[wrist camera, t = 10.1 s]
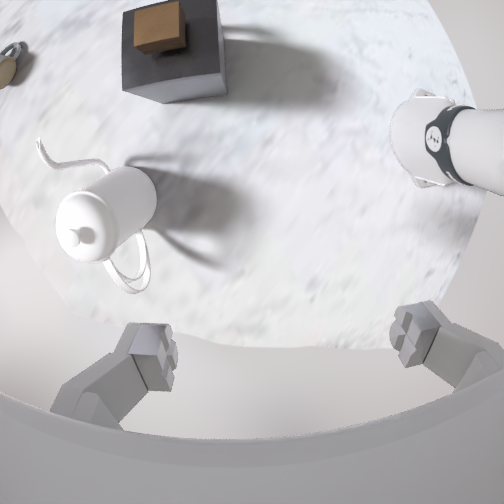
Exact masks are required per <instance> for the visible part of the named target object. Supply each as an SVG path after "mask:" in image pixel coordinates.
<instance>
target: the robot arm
mask: <svg viewBox="0 0 504 504" xmlns="http://www.w3.org/2000/svg"><path fill="white" fill-rule="evenodd" d="M390 138H391V144H392V148H393V151H394V154H395V156H396V158H397V160H398V161H399V163H400V164H401V165H402V166H403V167H404V168H405V169H406V170H407V171H408V172H409V173H410V175H411V177H412V179H413V181H414V183H415V185H416V186H417V187H420V188H423V187H428V186H433V185H437V184H438V185H442V186H445V185H446V184H450V183H454V182H457V183H460V184H463V185H464V184H465V185H469V186H473V185H475V186H478V187H481V188H483V189H486V190H488V191H490V192H493V193H495V194H498V195H500V196H504V109H497V110H478V109H475V108H473V107H469V106H465V105H464V104H461V103H455V101H454V100H452V99H448V100H447V98H446V97H437V96H435V95H434V94H432V93H430V92H428V91H426V90H424V89H416V90H415V91H414V92H413V94H412V96H411V98H410V99H409V100H408V101H406V102H404V103H403V104H402V105H401V106H400V107H399V108H398V109H397V110H396V112H395V114H394V116H393V119H392V122H391V128H390ZM394 316H395V318H396V320H395V321H394V322H393V324H392V325H391V328H390V341H391V344H392V346H393V348H394V349H396V350H398V351H399V355H398V356H399V358H400V360H401V361H402V363H403V365H404V366H405V368H408V367H411V366H416V365H420V364H423V365H424V366H425V367H427V368H428V369H430V370H431V371H432V372H434V373H435V374H436V375H438V376H439V377H441V378H442V379H443V380H445V381H446V382H447V383H449V384H450V385H451V386H453V387H454V388H455V390H454V391H453V393H452V394H450V395H448V396H445V397H443V398H440V399H437V400H435V401H433V402H430V403H427V404H425V405H422V406H419V407H416V408H413V409H410V410H407V411H404V412H401V413H398V414H394V415H391V416H388V417H384V418H381V419H377V420H373V421H369V422H366V423H361V424H357V425H353V426H348V427H343V428H338V429H333V430H327V431H322V432H315V433H308V434H300V435H293V436H283V437H271V438H256V439H194V438H179V437H167V436H158V435H150V434H142V433H135V432H130V431H124V430H123V428H122V427H121V426H120V425H119V422H120V421H121V420H122V419H123V418H124V417H125V416H126V415H127V414H128V413H129V412H130V411H131V410H132V408H133V407H134V406H135V405H136V404H137V403H138V402H139V401H140V400H141V399H142V398H143V397H144V396H145V395H146V394H147V393H148V391H169V392H171V390H172V385H173V381H174V375H173V372H172V371H173V370H174V369H175V368H176V367H177V362H178V352H177V346H176V342H174V341H173V340H172V339H171V338H172V334H173V332H172V329H171V326H170V325H169V324H156V323H129V324H127V326H126V328H125V330H124V332H123V334H122V336H121V338H120V340H119V342H118V344H117V346H116V348H115V350H114V353H109V354H107V355H106V356H104V357H103V358H101V359H100V360H98V361H97V362H95V363H94V364H93V365H91V366H90V367H88V368H87V369H85V370H84V371H82V372H81V373H79V374H78V375H77V376H75V377H74V378H72V379H71V380H69V381H68V382H66V383H65V384H63V385H62V387H61V389H60V391H59V393H58V394H57V397H56V399H55V401H54V403H53V405H52V407H51V409H50V411H47V410H43V409H41V408H38V407H35V406H32V405H30V404H27V403H25V402H22V401H20V400H18V399H15V398H13V397H11V396H8V395H6V394H4V393H2V392H0V504H504V350H503V349H502V347H501V346H500V345H499V344H498V343H497V342H494V341H492V340H490V339H488V338H486V337H484V336H482V335H479V334H477V333H475V332H473V331H471V330H469V329H467V328H464V327H462V326H460V325H457V324H455V323H453V324H452V323H451V322H450V321H449V320H448V318H447V317H446V316H445V315H444V314H443V313H442V312H441V310H439V308H438V307H437V306H436V305H435V304H434V303H433V302H432V301H430V300H428V301H424V302H419V303H415V304H410V305H404V306H398V308H397V309H396V311H395V314H394Z"/></svg>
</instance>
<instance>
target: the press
mask: <svg viewBox="0 0 504 504" xmlns="http://www.w3.org/2000/svg"><path fill="white" fill-rule="evenodd" d="M176 1H179V3H180V5H181V7H182V9H183V11H184V13H185V39H186V47H182V48H176V49H171V50H166V51H161V52H156V53H152V54H147V55H144V54H143V53H142V52H140V51H139V50H138V49H136V48H135V47H134V15H135V11H138V10H142V9H145V8H149V7H153V6H157V5H162V4H166V3H171V2H176ZM122 91H125V92H129V93H132V94H135V95H138V96H141V97H144V98H147V99H150V100H153V101H156V102H159V103H162V104H165V103H171V102H177V101H183V100H190V99H197V98H205V97H214V96H224V95H227V85H226V70H225V54H224V38H223V32H222V26H221V20H220V14H219V8H218V2H217V0H168V1H164V2H159V3H155V4H151V5H147V6H143V7H140V8H136V9H133V10H129V11H126V12H123V21H122Z"/></svg>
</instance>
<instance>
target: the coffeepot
mask: <svg viewBox="0 0 504 504" xmlns="http://www.w3.org/2000/svg"><path fill="white" fill-rule="evenodd" d="M36 148H37V150H38V153H39V155H40V157H41V158H42V160H43V161H44V163H45V164H46V165H47V166H48V167H50V168H51V169H55V170H63V169H69V168H74V167H80V166H87V165H94V164H96V165H99V166H101V167H102V168H103V170H104V171H105V175H103V176H102V177H100V178H98V179H97V180H95V181H93V182H92V183H90V184H88V185H87V186H85V187H84V188H82V189H80V190H77V191H75V192H72V193H71V194H69V195H68V196H66V197H65V198H64V200H63V201H62V202H61V204H60V206H59V209H58V212H57V218H56V232H57V236H58V239H59V242H60V244H61V246H62V247H63V249H64V250H65V251H66V252H67V253H68V254H69V255H70V256H71V257H73V258H74V259H76V260H78V261H81V262H85V263H100V262H102V261H103V263H104V265H105V267H106V269H107V271H108V273H109V274H110V276H111V277H112V279H113V280H114V281H115V283H116V284H117V285H118V286H119V287H120V288H121V289H122V290H124V291H125V292H127V293H130V294H136V293H139V292H141V291H144V290H145V289H146V288H147V286H148V284H149V281H150V272H151V268H150V259H149V254H148V249H147V245H146V242H145V239H144V236H143V233H142V228H144V225H146V224H147V223H148V222H149V221H150V219H151V218H152V216H153V215H154V212H155V210H156V206H157V194H156V190H155V187H154V184H153V183H152V181H151V179H150V178H149V177H148V176H147V175H146V174H145V173H144V172H142V171H141V170H139V169H137V168H134V167H119V168H116V169H114V170H112V171H111V170H110V169H109V167H108V166H107V165H106V164H105V163H104V162H103V161H102V160H100V159H87V160H79V161H71V162H64V163H56V162H54V161H53V160H51V158H50V157H49V156H48V154H47V153H46V151H45V149H44V147H43V144H42V142H41V140H40V138H38V139H37V141H36ZM134 233H136V236H137V240H138V244H139V248H140V269H139V272H138V274H137V276H136V277H135V278H134V279H130V278H128V277H126V276H124V275H123V274H121V273H120V272H119V271H118V270H117V269H116V267H115V266H114V264H113V262H112V260H111V259H110V256H111V255H112V254H113V253H114V251H115V249H116V248H117V247H119V246H120V245H121V244H122V243H123V242H125V241H126V240H127V239H128V238H129V237H131V236H132V235H133V234H134ZM143 274H144V279H143V284H142V286H141V288H140V290H135V289H133V288H131V287H130V286H129V285H128V284H126V283H130V282H132V281H135V280H137V279H139V278H140V277H141V276H142V275H143Z"/></svg>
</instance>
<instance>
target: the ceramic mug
mask: <svg viewBox="0 0 504 504" xmlns="http://www.w3.org/2000/svg"><path fill="white" fill-rule="evenodd" d="M14 47H17V51H16V53H15V54H14V55H13V57H10V56H5V54H6V53H7V52H8V51H9V50H11V49H12V48H14ZM21 49H22V48H21V46H20V44H19V43H17V42H15V43H12V44H10V45H9V46H7V47H6V48H5V49H4V50H3V51H2V52H1V53H0V89H3V88H5V87H6V86H7V85H8V84H9V83H10V82H11V80H12V79H13V77H14V75H15V72H16V61H15V60H16V59H17V57H18V56H19V54H20V52H21Z"/></svg>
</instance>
